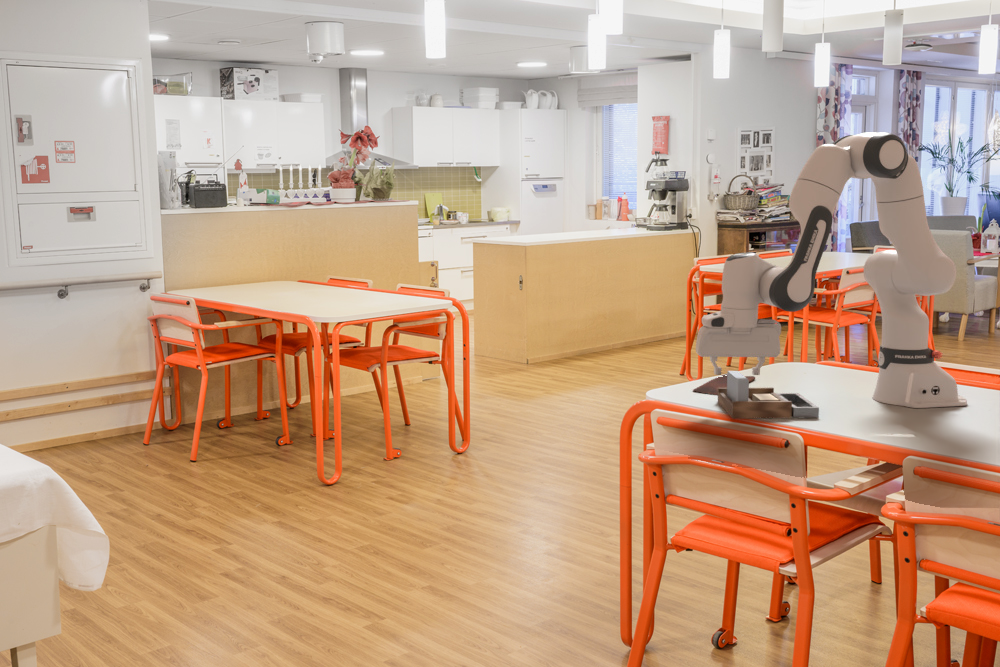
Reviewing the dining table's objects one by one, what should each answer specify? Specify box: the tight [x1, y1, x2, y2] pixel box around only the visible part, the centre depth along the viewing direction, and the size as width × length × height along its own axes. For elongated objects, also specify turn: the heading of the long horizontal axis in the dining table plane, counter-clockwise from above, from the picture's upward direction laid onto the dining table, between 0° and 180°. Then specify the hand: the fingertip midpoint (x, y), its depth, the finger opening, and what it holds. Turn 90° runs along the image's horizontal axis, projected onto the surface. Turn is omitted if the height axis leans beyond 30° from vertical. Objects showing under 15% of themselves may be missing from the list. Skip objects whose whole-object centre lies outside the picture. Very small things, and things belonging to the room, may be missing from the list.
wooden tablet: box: [692, 373, 756, 396], centre depth 263 cm, size 26×2×10 cm
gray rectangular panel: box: [726, 370, 750, 401], centre depth 233 cm, size 2×12×9 cm, turn 179°
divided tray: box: [717, 387, 793, 419], centre depth 234 cm, size 14×17×4 cm
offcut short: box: [752, 394, 779, 401], centre depth 233 cm, size 4×7×2 cm, turn 1°
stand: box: [775, 392, 820, 419], centre depth 233 cm, size 6×17×2 cm, turn 179°
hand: (736, 374), depth 232 cm, fingers open, 8 cm apart
